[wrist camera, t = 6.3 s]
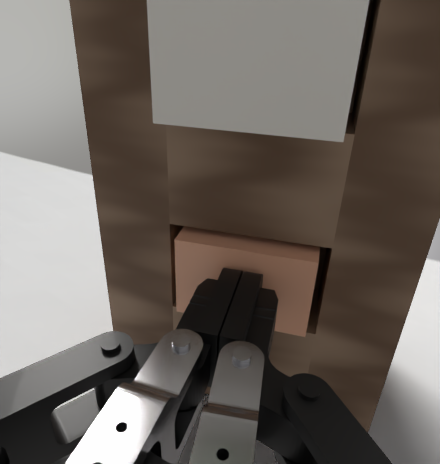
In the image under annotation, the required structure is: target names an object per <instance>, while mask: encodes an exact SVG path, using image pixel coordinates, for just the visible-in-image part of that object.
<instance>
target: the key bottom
mask: <svg viewBox="0 0 440 464" xmlns="http://www.w3.org/2000/svg"><path fill="white" fill-rule="evenodd" d="M174 241H175V275H176V309H177V312H182V313H184V312H185V310H186V308H187V306H188V304H189V303H190V300H191V298H192V296H193V294H194V292H195V290H196V288H197V286H198V285H199V284H200V283H202V282H203V281H204V280H206V279H207V278H209V279H215V280H218V278H219V275H220V273H221V271H222V269H223V268H229V269H235V270H241V271H247V272H253V273H259V274H263V283H262V288H266V289H271V290H275V293H276V295H277V298H278V307H277V315H276V323H275V330H274V331H277V332H282V333H287V334H292V335H297V336H302V337H305V336H306V331H307V325H308V319H309V314H310V308H311V303H312V297H313V292H314V286H315V281H316V275H317V269H318V264H319V253H320V247H319V246H312V245H306V244H299V243H293V242H286V241H280V240H273V239H266V238H260V237H253V236H247V235H240V234H234V233H227V232H221V231H214V230H207V229H201V228H194V227H188V226H184V227H183V228H182V230H181V231H180V233H179V234H178V236H177V237H176V238H175V240H174Z"/></svg>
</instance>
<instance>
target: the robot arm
mask: <svg viewBox="0 0 440 464" xmlns="http://www.w3.org/2000/svg"><path fill="white" fill-rule="evenodd" d="M262 283H263V274H259V273H253V272H247V271H241V270H235V269H229V268H223V269H222V271H221V273H220V275H219V278H218V280H215V279H209V278H207V279H206V280H204V281H203V282H202V283H200V284H199V285H198V286H197V288H196V290H195V292H194V294H193V296H192V298H191V300H190V303H189V304H188V306H187V308H186V310H185V312H184V314H183V316H182V318H181V319H180V321H179V323H178V325H177V327H176V329H175V330H172V331H170V332H168V333H166V334H165V335H164V336H163V337H162V338H161V340H160V341H159V342H158V343H153V344H136V345H134V343H133V340H132V338H131V337H130V336H129V335H127V334H126V333H123V332H118V331H112V332H106V333H103V334H101V335H99V336H96V337H94V338H92V339H89V340H87V341H85V342H82V343H80V344H78V345H76V346H73V347H71V348H69V349H66V350H64V351H62V352H59V353H57V354H55V355H53V356H50V357H48V358H46V359H43V360H41V361H39V362H36V363H34V364H32V365H30V366H27V367H25V368H23V369H20V370H18V371H16V372H13V373H11V374H9V375H7V376H4V377H2V378H0V464H178V461H179V458H180V455H181V453H182V451H183V448H184V446H185V444H186V442H187V439H188V437H189V435H190V433H191V430H192V428H193V426H194V423H195V421H196V419H197V417H198V414H199V412H200V410H201V407H202V399H203V397H204V394H205V391H206V388H207V387H211V390H210V394H209V398H208V402H207V405H204V407H203V409H202V413H201V417H200V421H199V425H198V429H197V433H196V437H195V441H194V445H193V449H192V453H191V457H190V461H189V464H253V460H254V451H255V442H256V439H257V440H258V441H260V442H262V443H263V444H265V445H266V446H268V447H269V448H271V449H273V450H274V454H275V458H276V460H277V462H278V464H392V463H391V462H390V460H389V459H388V458H387V457H386V455H385V454H384V453H383V452H382V450H381V449H380V448H379V447H378V445H377V444H376V443H375V442H374V440H373V439H372V438H371V437H370V435H369V434H368V433H367V432H366V430H365V429H364V428H363V427H362V426H361V424H360V423H359V422H358V421H357V419H356V418H355V417H354V416H353V414H352V413H351V412H350V411H349V409H348V408H347V407H346V406H345V404H344V403H343V402H342V401H341V399H340V398H339V397H338V396H337V394H336V393H335V392H334V391H333V389H332V388H331V387H330V386H329V385H328V384H327V382H325V381H324V380H323V379H321V378H320V377H318V376H316V375H313V374H308V373H299V374H295V375H293V376H291V377H289V376H287V375H285V374H283V373H282V372H280V371H279V370H277V369H276V368H275V367H274V366H273V365H272V363H271V362H270V360H269V355H270V350H271V346H272V341H273V336H274V330H275V323H276V315H277V307H278V298H277V295H276V293H275V290H271V289H266V288H262ZM92 388H94V389H95V390H93V391H91V392H89V393H87V394H85V395H83V396H81V397H79V398H77V399H75V400H73V401H71V402H69V403H67V404H65V405H63V406H61V407H59V408H57V409H55V408H56V407H57V406H59V405H60V404H62V403H64V402H66V401H68V400H70V399H72V398H74V397H76V396H78V395H80V394H82V393H84V392H86V391H88V390H90V389H92ZM54 409H55V410H54Z"/></svg>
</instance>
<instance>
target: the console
mask: <svg viewBox="0 0 440 464" xmlns="http://www.w3.org/2000/svg"><path fill="white" fill-rule="evenodd" d="M69 1H70V8H71V16H72V24H73V31H74V39H75V46H76V54H77V61H78V69H79V76H80V84H81V91H82V99H83V106H84V114H85V121H86V129H87V136H88V144H89V151H90V159H91V167H92V174H93V182H94V189H95V197H96V204H97V212H98V219H99V227H100V234H101V242H102V249H103V257H104V264H105V272H106V279H107V287H108V294H109V302H110V310H111V317H112V325H113V331H118V332H123V333H126V334H127V335H129V336H130V337H131V338H132V340H133V343H134V345H136V344H153V343H158V342H159V341H160V340H161V338H162V337H163V336H164V335H165V334H166V333H168V332H170V331H172V330H175V329H176V327H177V325H178V323H179V321H180V319H181V318H182V316H183V314H184V313H182V312H177V309H176V275H175V241H174V240H175V238H176V237H177V236H178V234H179V233H180V231H181V230H182V228H183V227H184V226H188V227H194V228H201V229H207V230H214V231H221V232H227V233H234V234H240V235H247V236H253V237H260V238H266V239H273V240H280V241H286V242H293V243H299V244H306V245H312V246H319V247H320V253H319V264H318V269H317V275H316V281H315V286H314V292H313V297H312V303H311V308H310V314H309V319H308V325H307V331H306V336H305V337H302V336H297V335H292V334H287V333H282V332H277V331H274V336H273V341H272V346H271V350H270V355H269V360H270V362H271V363H272V365H273V366H274V367H275V368H276V369H277V370H279V371H280V372H282V373H283V374H285V375H287V376H289V377H291V376H293V375H295V374H299V373H308V374H313V375H316V376H318V377H320V378H321V379H323V380H324V381H325V382H327V384H328V385H329V386H330V387H331V388H332V389H333V391H334V392H335V393H336V394H337V396H338V397H339V398H340V399H341V401H342V402H343V403H344V404H345V406H346V407H347V408H348V409H349V411H350V412H351V413H352V414H353V416H354V417H355V418H356V419H357V421H358V422H359V423H360V424H361V426H362V427H363V428H364V429H365V430H366V432H368V431H369V428H370V425H371V422H372V419H373V416H374V413H375V410H376V407H377V404H378V401H379V398H380V395H381V392H382V389H383V386H384V383H385V380H386V377H387V374H388V371H389V368H390V365H391V362H392V359H393V356H394V353H395V350H396V347H397V344H398V341H399V338H400V335H401V332H402V329H403V326H404V323H405V320H406V317H407V314H408V312H409V309H410V306H411V303H412V300H413V297H414V294H415V291H416V288H417V285H418V282H419V279H420V276H421V273H422V270H423V267H424V264H425V261H426V258H427V255H428V252H429V249H430V246H431V243H432V240H433V237H434V234H435V231H436V228H437V224H438V222H439V219H440V0H369V6H368V11H367V16H366V22H365V27H364V33H363V38H362V44H361V49H360V54H359V60H358V65H357V71H356V76H355V82H354V87H353V93H352V98H351V103H350V109H349V114H348V120H347V125H346V131H345V136H344V142H335V141H325V140H315V139H305V138H295V137H285V136H275V135H265V134H255V133H245V132H235V131H225V130H215V129H205V128H195V127H185V126H175V125H165V124H155V123H153V113H152V93H151V74H150V54H149V35H148V15H147V0H69ZM210 390H211V387H207V388H206V391H205V394H210Z"/></svg>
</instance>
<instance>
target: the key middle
mask: <svg viewBox="0 0 440 464" xmlns="http://www.w3.org/2000/svg"><path fill="white" fill-rule="evenodd" d="M368 6H369V0H147V15H148V35H149V54H150V74H151V93H152V113H153V123H155V124H165V125H175V126H185V127H195V128H205V129H215V130H225V131H235V132H245V133H255V134H265V135H275V136H285V137H295V138H305V139H315V140H325V141H335V142H344V136H345V131H346V125H347V120H348V114H349V109H350V103H351V98H352V93H353V87H354V82H355V76H356V71H357V65H358V60H359V54H360V49H361V44H362V38H363V33H364V27H365V22H366V16H367V11H368Z"/></svg>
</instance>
